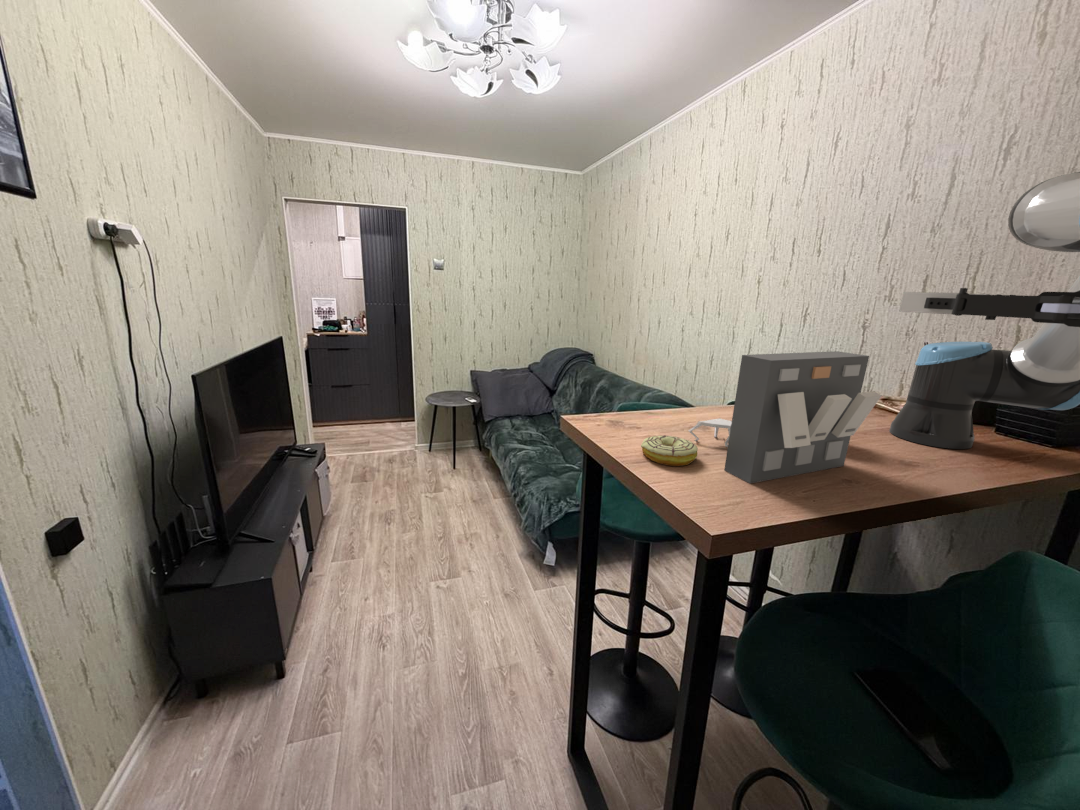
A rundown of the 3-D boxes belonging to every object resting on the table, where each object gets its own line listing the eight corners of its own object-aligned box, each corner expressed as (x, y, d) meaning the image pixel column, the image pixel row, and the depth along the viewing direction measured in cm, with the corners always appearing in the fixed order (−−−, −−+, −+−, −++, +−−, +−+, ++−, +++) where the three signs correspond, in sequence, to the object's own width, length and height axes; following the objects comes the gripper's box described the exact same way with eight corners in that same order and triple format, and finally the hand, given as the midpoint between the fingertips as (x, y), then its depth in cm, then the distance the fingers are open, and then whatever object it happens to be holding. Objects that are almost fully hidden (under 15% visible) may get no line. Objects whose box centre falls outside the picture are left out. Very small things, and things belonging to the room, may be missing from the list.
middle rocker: (825, 440, 78) (852, 399, 73) (808, 442, 77) (835, 400, 72) (818, 434, 79) (844, 394, 74) (801, 437, 78) (827, 395, 73)
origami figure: (727, 435, 102) (730, 415, 101) (750, 447, 95) (754, 426, 93) (681, 437, 100) (683, 416, 99) (700, 450, 92) (703, 428, 91)
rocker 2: (854, 435, 81) (882, 396, 76) (838, 438, 80) (866, 397, 75) (846, 430, 82) (874, 391, 77) (831, 432, 81) (858, 392, 76)
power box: (845, 466, 85) (871, 356, 80) (751, 484, 76) (773, 360, 70) (815, 455, 91) (837, 351, 85) (724, 470, 82) (742, 355, 76)
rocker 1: (811, 445, 72) (804, 391, 73) (793, 447, 71) (785, 393, 71) (803, 445, 74) (796, 392, 74) (784, 447, 72) (777, 394, 73)
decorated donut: (663, 445, 95) (665, 429, 94) (706, 462, 86) (709, 444, 85) (630, 454, 89) (632, 437, 88) (673, 473, 80) (675, 454, 79)
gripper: (1139, 354, 39) (868, 328, 60) (1210, 349, 46) (945, 328, 67) (1173, 267, 37) (881, 272, 58) (1242, 275, 44) (959, 277, 65)
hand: (916, 302), depth 62 cm, fingers open, 5 cm apart
